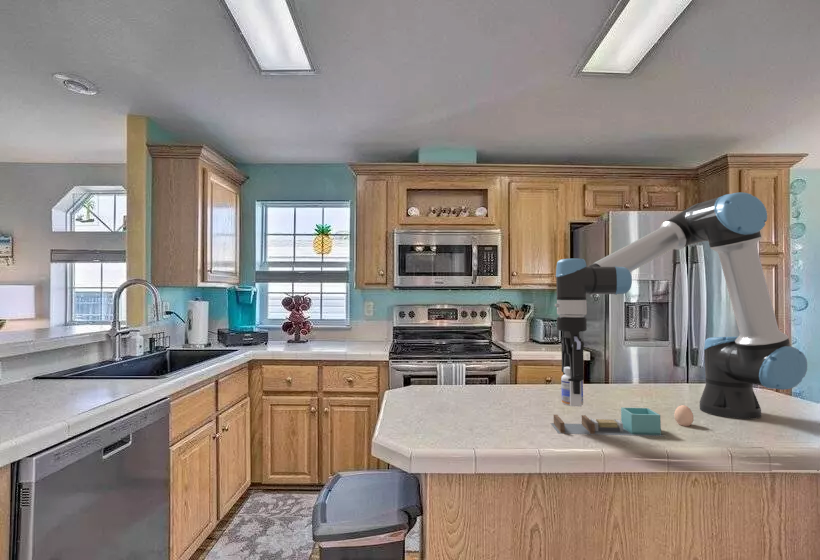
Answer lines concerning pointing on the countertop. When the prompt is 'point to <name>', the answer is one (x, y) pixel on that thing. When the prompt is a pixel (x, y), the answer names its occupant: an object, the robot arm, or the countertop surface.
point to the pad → (606, 423)
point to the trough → (585, 422)
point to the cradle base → (609, 429)
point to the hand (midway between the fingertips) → (572, 403)
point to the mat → (582, 430)
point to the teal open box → (641, 421)
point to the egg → (683, 415)
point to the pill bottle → (568, 387)
